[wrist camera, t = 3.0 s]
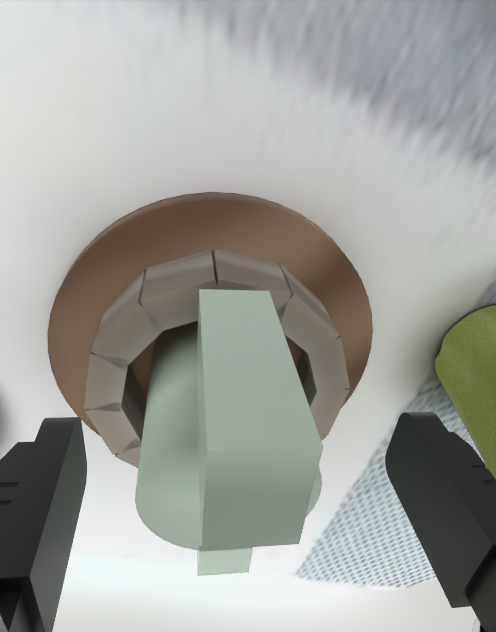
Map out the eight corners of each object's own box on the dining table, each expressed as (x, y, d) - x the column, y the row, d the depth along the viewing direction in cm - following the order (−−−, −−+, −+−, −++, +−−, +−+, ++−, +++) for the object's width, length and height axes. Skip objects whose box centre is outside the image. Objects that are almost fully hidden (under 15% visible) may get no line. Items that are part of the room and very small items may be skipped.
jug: (269, 421, 24) (324, 666, 15) (154, 424, 23) (129, 687, 14) (297, 245, 19) (413, 443, 9) (148, 238, 18) (102, 453, 8)
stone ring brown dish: (420, 331, 24) (461, 380, 20) (222, 486, 29) (227, 547, 25) (205, 107, 17) (210, 120, 13) (-11, 360, 22) (-51, 420, 18)
